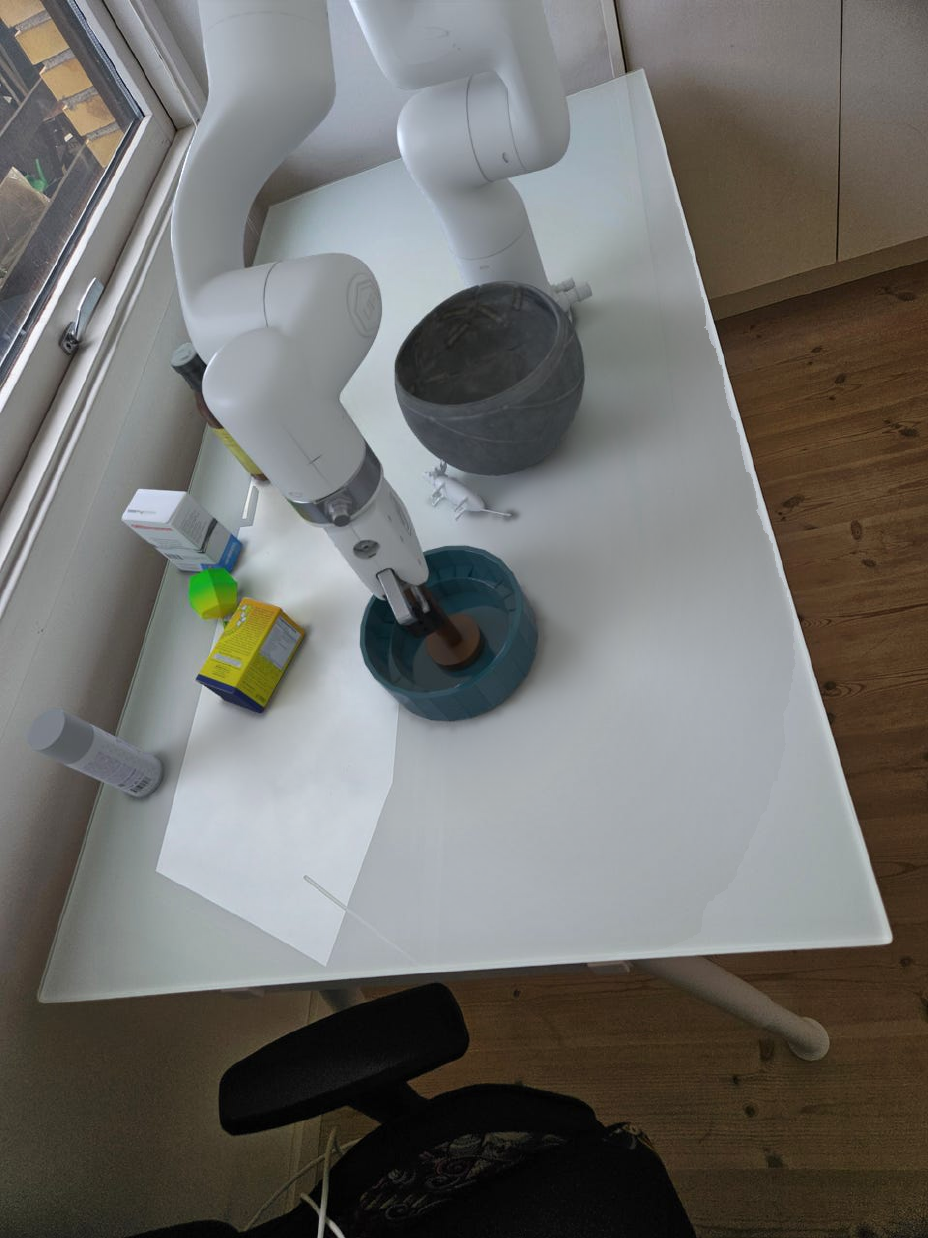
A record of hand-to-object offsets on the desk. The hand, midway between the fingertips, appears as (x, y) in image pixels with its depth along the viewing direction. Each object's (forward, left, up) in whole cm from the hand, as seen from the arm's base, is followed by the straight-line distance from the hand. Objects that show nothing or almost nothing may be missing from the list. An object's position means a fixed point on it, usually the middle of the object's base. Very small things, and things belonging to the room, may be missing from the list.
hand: (417, 589), depth 76 cm
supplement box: (+26, -5, -9) cm, 28 cm away
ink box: (+27, -29, -12) cm, 41 cm away
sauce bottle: (+16, -40, -12) cm, 45 cm away
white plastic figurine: (-4, -16, -10) cm, 19 cm away
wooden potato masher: (0, 0, -11) cm, 11 cm away
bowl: (-15, -24, -12) cm, 30 cm away
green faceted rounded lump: (+23, -18, -8) cm, 31 cm away
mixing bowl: (0, 0, -12) cm, 12 cm away
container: (+39, -2, -12) cm, 41 cm away
